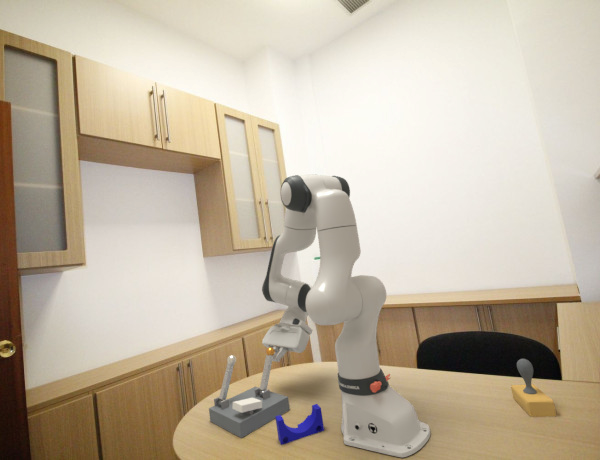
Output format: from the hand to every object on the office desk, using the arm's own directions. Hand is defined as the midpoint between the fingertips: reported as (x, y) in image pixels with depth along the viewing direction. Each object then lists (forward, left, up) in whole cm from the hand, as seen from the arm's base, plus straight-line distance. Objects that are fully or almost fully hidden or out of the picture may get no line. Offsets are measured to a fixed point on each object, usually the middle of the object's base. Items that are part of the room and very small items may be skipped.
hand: (274, 360), depth 108 cm
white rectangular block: (-5, +16, -7) cm, 18 cm away
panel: (+1, +12, -13) cm, 18 cm away
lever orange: (0, +7, -8) cm, 11 cm away
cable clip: (-21, +10, -14) cm, 27 cm away
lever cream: (+7, +18, -8) cm, 21 cm away
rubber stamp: (-66, -30, -14) cm, 74 cm away
